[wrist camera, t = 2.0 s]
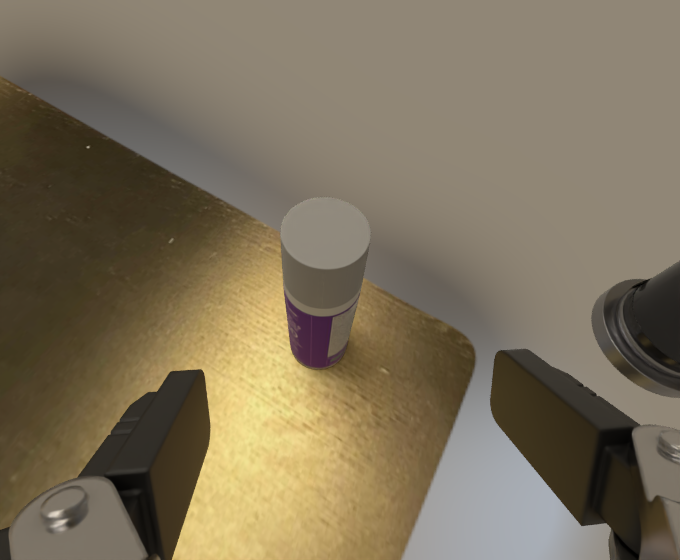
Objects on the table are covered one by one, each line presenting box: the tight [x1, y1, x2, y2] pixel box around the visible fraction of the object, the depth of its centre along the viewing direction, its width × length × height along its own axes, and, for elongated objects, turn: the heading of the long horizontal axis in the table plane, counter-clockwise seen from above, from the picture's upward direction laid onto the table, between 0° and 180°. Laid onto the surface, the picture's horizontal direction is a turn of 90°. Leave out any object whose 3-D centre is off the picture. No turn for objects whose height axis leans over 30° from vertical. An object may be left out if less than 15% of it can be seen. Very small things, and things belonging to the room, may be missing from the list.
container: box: [280, 197, 371, 370], centre depth 25 cm, size 5×5×15 cm
